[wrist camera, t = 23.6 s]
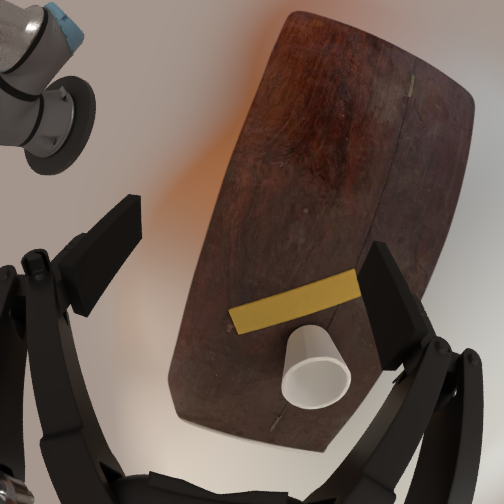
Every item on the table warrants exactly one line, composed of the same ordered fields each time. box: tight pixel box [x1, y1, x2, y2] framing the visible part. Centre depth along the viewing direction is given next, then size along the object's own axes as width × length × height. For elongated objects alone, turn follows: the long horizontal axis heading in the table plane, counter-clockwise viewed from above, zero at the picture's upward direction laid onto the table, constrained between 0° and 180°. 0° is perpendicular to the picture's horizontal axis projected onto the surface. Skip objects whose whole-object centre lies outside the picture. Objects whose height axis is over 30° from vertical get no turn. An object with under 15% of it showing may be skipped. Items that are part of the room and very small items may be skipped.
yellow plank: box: [228, 268, 361, 335], centre depth 45 cm, size 22×5×1 cm, turn 110°
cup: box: [281, 325, 351, 409], centre depth 40 cm, size 10×10×13 cm
